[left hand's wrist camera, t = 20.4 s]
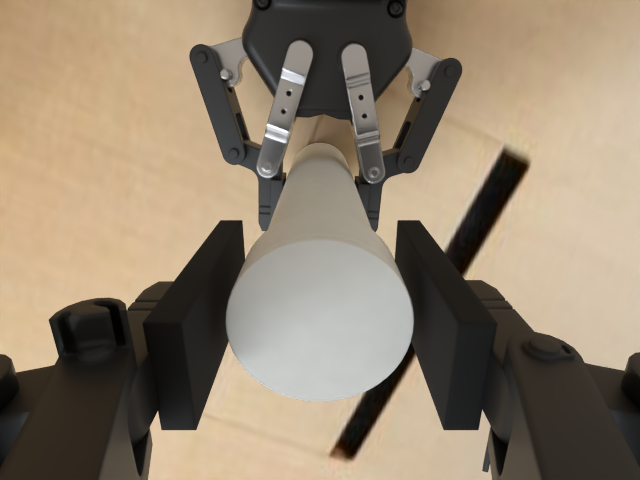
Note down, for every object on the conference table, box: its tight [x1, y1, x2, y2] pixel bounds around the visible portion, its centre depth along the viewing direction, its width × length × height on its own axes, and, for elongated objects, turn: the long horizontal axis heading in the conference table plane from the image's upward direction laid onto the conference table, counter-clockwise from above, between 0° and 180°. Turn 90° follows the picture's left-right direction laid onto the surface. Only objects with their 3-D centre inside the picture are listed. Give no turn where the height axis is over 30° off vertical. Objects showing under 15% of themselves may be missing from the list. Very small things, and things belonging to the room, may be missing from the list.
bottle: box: [268, 143, 372, 229], centre depth 20 cm, size 4×4×20 cm
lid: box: [226, 212, 414, 402], centre depth 11 cm, size 5×5×2 cm
